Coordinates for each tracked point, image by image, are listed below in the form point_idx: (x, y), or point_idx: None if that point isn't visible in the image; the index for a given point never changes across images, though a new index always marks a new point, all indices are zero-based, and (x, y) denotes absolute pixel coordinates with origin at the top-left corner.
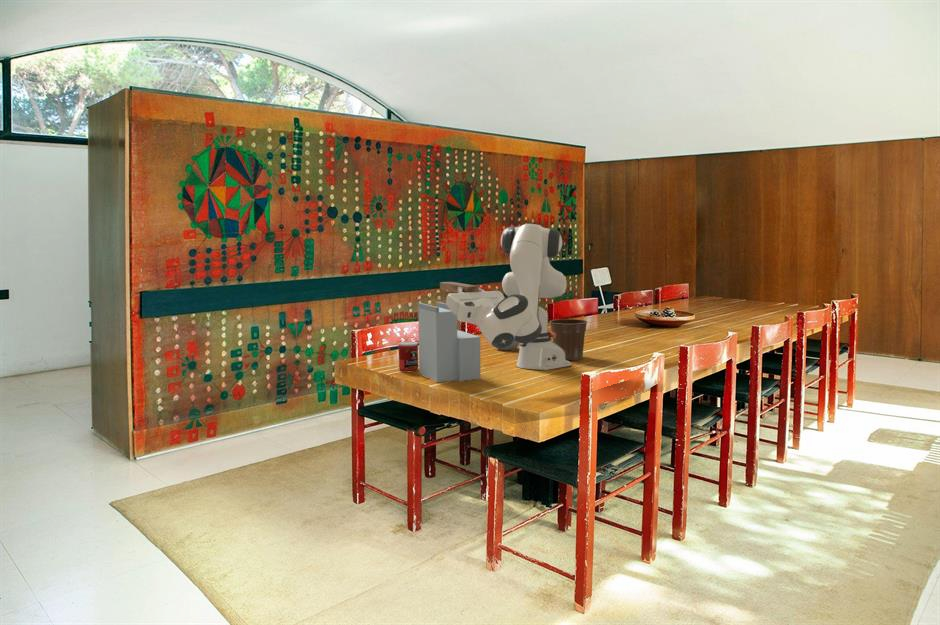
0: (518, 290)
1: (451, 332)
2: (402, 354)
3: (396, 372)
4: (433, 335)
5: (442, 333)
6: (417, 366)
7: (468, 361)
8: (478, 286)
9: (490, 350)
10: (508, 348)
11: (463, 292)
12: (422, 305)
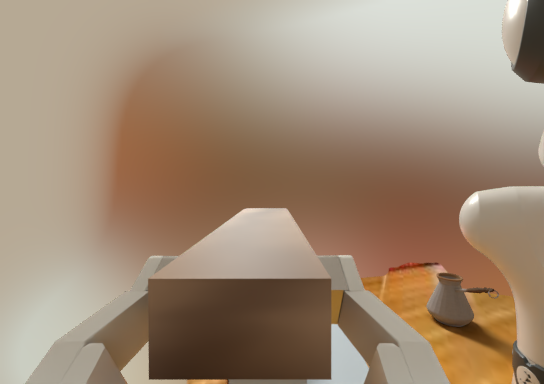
0: (523, 241)
1: (284, 380)
2: None
3: (215, 381)
4: None
5: (251, 380)
6: None
7: None
8: (330, 283)
9: (419, 317)
10: (454, 323)
11: (98, 356)
12: None
